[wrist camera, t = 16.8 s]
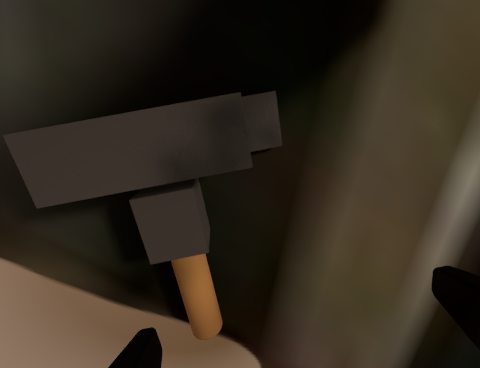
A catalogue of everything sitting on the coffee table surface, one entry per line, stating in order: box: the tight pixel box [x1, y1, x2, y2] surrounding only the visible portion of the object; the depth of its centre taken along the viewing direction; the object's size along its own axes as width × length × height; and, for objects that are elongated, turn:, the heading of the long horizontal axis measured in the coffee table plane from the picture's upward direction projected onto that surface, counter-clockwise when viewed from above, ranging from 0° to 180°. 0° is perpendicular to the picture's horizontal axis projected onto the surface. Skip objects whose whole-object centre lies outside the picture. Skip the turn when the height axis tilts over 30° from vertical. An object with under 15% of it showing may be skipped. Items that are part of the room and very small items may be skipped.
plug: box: [129, 178, 222, 340], centre depth 19 cm, size 14×4×4 cm, turn 10°
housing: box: [3, 91, 282, 208], centre depth 15 cm, size 18×4×6 cm, turn 100°
